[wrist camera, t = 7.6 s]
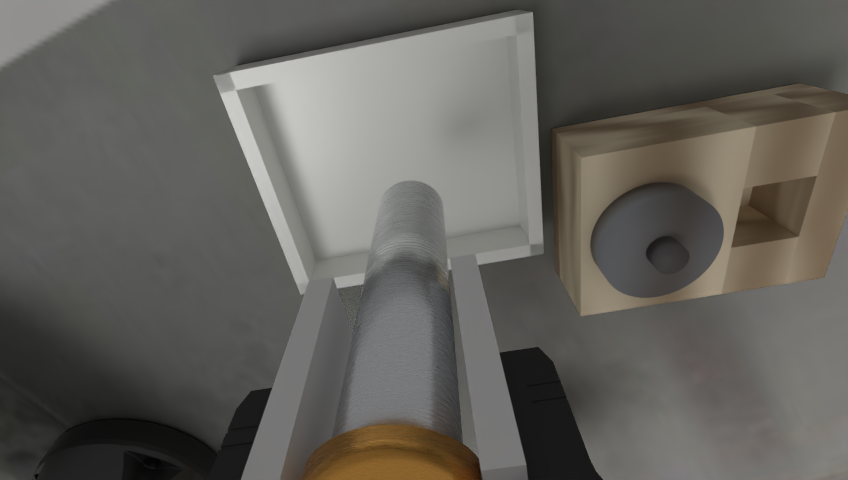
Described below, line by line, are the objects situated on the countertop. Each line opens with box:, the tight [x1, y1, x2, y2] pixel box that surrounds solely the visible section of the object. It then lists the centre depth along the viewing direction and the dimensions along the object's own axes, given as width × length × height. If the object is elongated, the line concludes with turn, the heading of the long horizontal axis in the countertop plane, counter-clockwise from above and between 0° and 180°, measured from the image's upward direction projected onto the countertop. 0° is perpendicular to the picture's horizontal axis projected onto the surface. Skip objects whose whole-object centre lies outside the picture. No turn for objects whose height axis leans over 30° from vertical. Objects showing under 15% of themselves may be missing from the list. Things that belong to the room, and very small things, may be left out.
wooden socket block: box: [551, 83, 848, 316], centre depth 24 cm, size 14×10×8 cm
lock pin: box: [302, 181, 482, 480], centre depth 13 cm, size 4×4×13 cm
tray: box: [213, 10, 544, 295], centre depth 24 cm, size 15×13×3 cm
